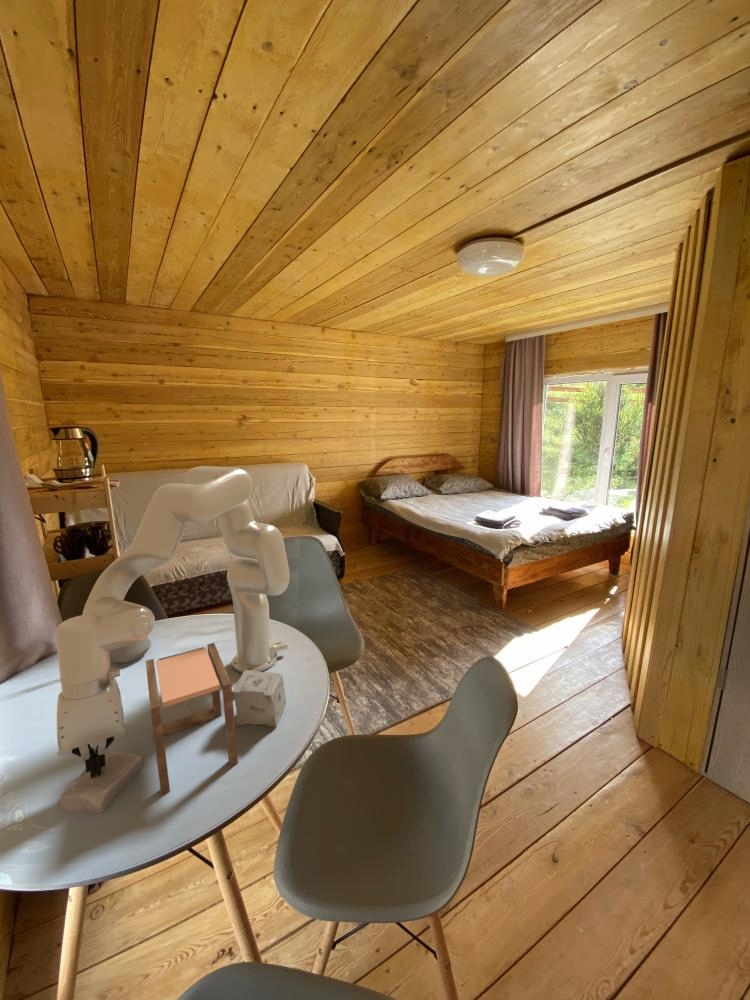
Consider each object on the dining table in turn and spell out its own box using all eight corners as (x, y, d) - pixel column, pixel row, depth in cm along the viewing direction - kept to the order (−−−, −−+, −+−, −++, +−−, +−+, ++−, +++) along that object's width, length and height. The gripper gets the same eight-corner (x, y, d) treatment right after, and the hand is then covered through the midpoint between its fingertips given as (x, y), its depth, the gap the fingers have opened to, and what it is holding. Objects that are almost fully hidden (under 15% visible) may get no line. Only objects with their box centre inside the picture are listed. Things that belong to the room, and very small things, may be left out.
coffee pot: (147, 642, 132) (141, 598, 129) (155, 657, 123) (150, 610, 120) (64, 667, 118) (56, 619, 115) (67, 686, 109) (58, 634, 107)
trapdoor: (204, 652, 97) (203, 642, 96) (220, 696, 81) (219, 684, 81) (156, 665, 91) (155, 654, 91) (164, 714, 76) (162, 702, 76)
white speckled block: (232, 729, 94) (229, 688, 92) (249, 704, 102) (246, 666, 100) (273, 733, 92) (271, 691, 90) (287, 708, 100) (285, 669, 98)
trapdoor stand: (220, 711, 99) (214, 642, 96) (237, 763, 84) (231, 683, 81) (154, 734, 92) (145, 660, 89) (161, 795, 77) (150, 709, 74)
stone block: (56, 823, 75) (104, 819, 73) (48, 799, 74) (96, 795, 73) (107, 771, 86) (149, 766, 85) (100, 750, 86) (142, 745, 84)
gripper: (133, 662, 83) (140, 744, 86) (39, 684, 76) (50, 774, 78) (134, 681, 77) (142, 768, 80) (31, 707, 69) (43, 803, 72)
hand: (96, 771), depth 79 cm, fingers closed
